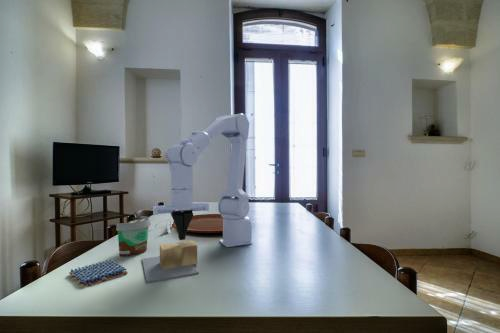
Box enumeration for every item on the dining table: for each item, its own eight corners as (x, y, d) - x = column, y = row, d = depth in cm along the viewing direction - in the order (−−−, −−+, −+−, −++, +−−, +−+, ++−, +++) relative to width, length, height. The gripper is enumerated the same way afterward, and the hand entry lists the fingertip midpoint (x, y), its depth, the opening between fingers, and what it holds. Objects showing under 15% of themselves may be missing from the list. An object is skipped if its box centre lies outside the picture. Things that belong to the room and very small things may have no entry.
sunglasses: (168, 235, 102) (166, 222, 102) (146, 239, 101) (144, 226, 101) (174, 227, 116) (172, 215, 116) (155, 230, 115) (153, 219, 115)
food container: (134, 259, 75) (135, 224, 75) (115, 258, 76) (115, 223, 76) (158, 246, 87) (158, 216, 87) (141, 245, 88) (141, 215, 88)
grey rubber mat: (184, 254, 80) (184, 252, 80) (198, 273, 65) (198, 272, 65) (142, 260, 75) (142, 258, 75) (146, 283, 60) (146, 281, 60)
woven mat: (111, 265, 72) (111, 257, 72) (129, 276, 65) (129, 267, 65) (66, 277, 64) (66, 269, 64) (81, 291, 57) (81, 282, 57)
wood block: (192, 240, 75) (159, 244, 71) (197, 245, 71) (162, 249, 67) (192, 257, 75) (159, 262, 71) (197, 263, 71) (162, 269, 67)
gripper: (155, 191, 65) (155, 246, 65) (212, 189, 71) (212, 239, 71) (152, 188, 71) (152, 239, 71) (204, 187, 77) (204, 233, 77)
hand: (181, 238), depth 71 cm, fingers closed
